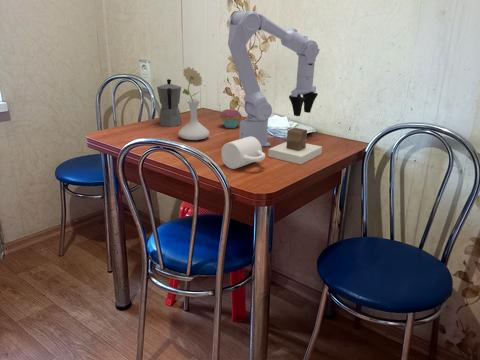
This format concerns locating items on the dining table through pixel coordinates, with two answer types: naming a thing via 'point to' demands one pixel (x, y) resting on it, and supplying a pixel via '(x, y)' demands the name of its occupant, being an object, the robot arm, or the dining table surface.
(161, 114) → the coffeepot
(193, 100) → the flower in vase
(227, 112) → the cupcake
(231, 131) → the dining table surface
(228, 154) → the mug
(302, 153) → the cream plinth
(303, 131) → the walnut block
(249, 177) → the dining table surface
